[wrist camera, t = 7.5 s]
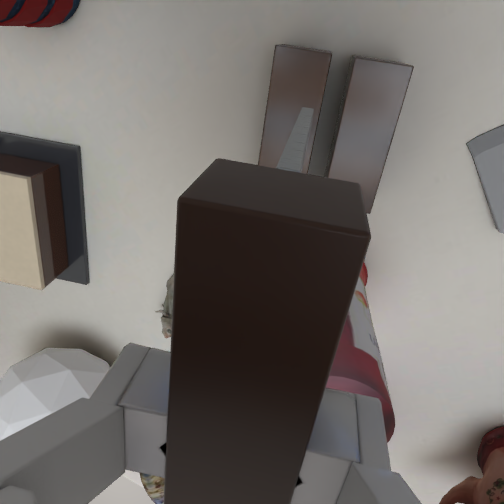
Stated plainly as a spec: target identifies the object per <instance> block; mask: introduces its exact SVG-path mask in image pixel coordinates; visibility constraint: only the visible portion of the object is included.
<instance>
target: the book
mask: <svg viewBox="0 0 504 504" xmlns="http://www.w3.org/2000/svg"><path fill="white" fill-rule="evenodd" d="M79 2H80V0H0V26H27V27H51V26H54V25H58V24H61V23H64V22H66V21H67V20H68V19H69V18H70V17H72V16H73V14H74V12H75V11H76V9H77V8H78V5H79Z"/></svg>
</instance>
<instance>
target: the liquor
mask: <svg viewBox="0 0 504 504" xmlns="http://www.w3.org/2000/svg"><path fill="white" fill-rule="evenodd" d="M367 277H368V275H367V269H366V266H365V263H364V262H363V266H362V269H361V272H360V275H359V279H358V282H357V285H356V289H355V292H354V295H353V299H352V302H351V305H350V308H349V312H348V315H347V318H346V322H345V325H344V328H343V332H342V335H341V338H340V342H339V345H338V348H337V351H336V355H335V358H334V361H333V365H332V368H331V371H330V375H329V378H328V381H327V384H326V387H327V388H332V389H336V390H341V391H346V392H350V393H353V394H354V393H355V394H360V395H365V396H370V397H374V398H378V399H379V400H380V402H381V405H382V412H383V419H384V426H385V432H386V439H387V443H388V442H389V441H390V439H391V437H392V435H393V433H394V428H395V418H394V412H393V408H392V404H391V400H390V395H389V391H388V386H387V382H386V377H385V372H384V368H383V363H382V358H381V355H380V351H379V347H378V343H377V339H376V335H375V332H374V328H373V324H372V319H371V315H370V310H369V305H368V301H367V296H366V291H365V286H366V283H367Z"/></svg>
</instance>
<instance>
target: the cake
mask: <svg viewBox="0 0 504 504" xmlns="http://www.w3.org/2000/svg"><path fill="white" fill-rule="evenodd" d="M55 278H57V279H62V280H66V281H71V282H75V283H80V284H85V285H87V284H88V283H89V271H88V256H87V242H86V227H85V212H84V198H83V183H82V168H81V154H80V146H75V145H69V144H64V143H59V142H53V141H48V140H42V139H37V138H32V137H26V136H21V135H15V134H10V133H5V132H0V281H2V282H7V283H11V284H16V285H20V286H25V287H29V288H34V289H38V290H43V289H44V288H45V287H46V286H47V285H48V284H49V283H51V282H52V281H53V280H54V279H55Z"/></svg>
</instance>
